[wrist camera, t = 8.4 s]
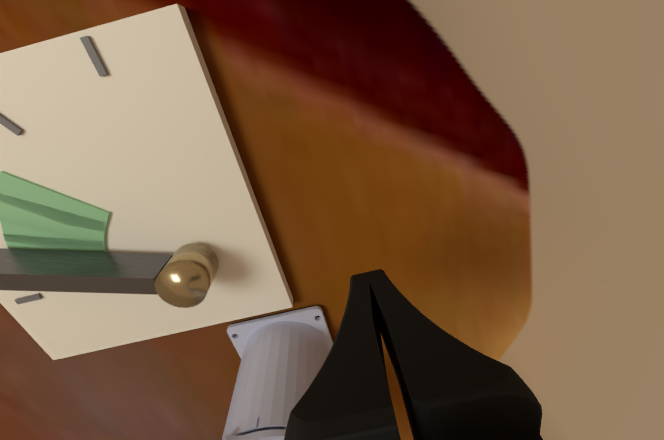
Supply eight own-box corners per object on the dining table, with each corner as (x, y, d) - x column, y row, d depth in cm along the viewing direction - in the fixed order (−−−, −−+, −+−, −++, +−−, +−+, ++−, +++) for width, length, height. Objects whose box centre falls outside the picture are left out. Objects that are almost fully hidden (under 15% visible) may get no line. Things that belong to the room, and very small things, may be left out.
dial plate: (293, 298, 25) (292, 309, 24) (62, 349, 26) (51, 362, 25) (184, 7, 16) (175, 3, 15) (-158, 102, 17) (-189, 105, 16)
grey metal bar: (217, 244, 21) (204, 268, 18) (220, 280, 22) (208, 308, 20) (-12, 234, 20) (-59, 259, 17) (6, 274, 21) (-36, 302, 18)
